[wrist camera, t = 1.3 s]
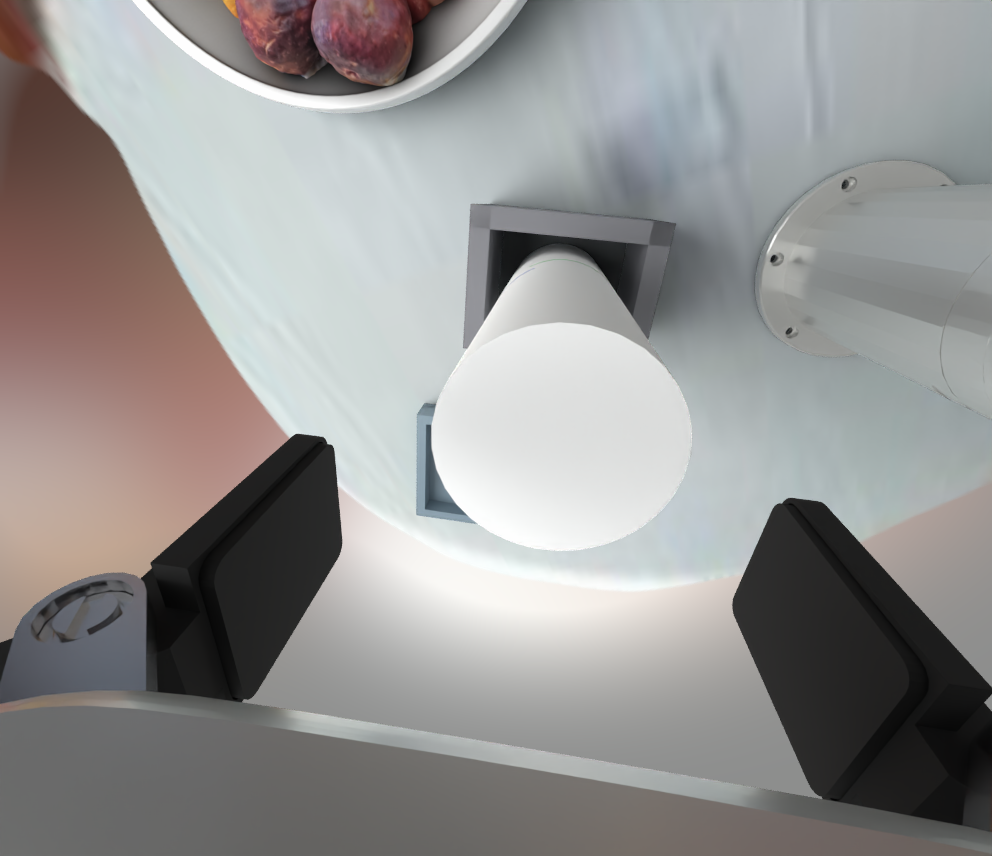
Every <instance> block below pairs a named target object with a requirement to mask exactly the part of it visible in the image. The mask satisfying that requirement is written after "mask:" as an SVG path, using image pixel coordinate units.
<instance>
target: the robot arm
mask: <svg viewBox="0 0 992 856" xmlns="http://www.w3.org/2000/svg"><path fill="white" fill-rule="evenodd" d="M843 181H845V186H844V188H841V187H842V183H843ZM772 255H775V259H774V260H773V261H772V262H770V258H771V257H772ZM755 297H756V301H757V305H758V310H759V312H760V314H761V316H762V318H763V320H764V322H765V324H766V326H767V327H768V328H769V329H770V330H771V332H772V333H773V334H774V335H775V336H776V337H778V338H779V339H780V340H782V341H783V342H784V343H786V344H787V345H789V346H791V347H793V348H795V349H796V350H798V351H801V352H804V353H807V354H811V355H814V356H822V357H846V356H853V355H857V354H859V355H861V356H863V357H865V358H867V359H869V360H871V361H873V362H875V363H877V364H879V365H881V366H883V367H885V368H887V369H889V370H891V371H893V372H895V373H897V374H899V375H901V376H903V377H905V378H907V379H909V380H911V381H913V382H915V383H917V384H919V385H921V386H923V387H925V388H927V389H929V390H931V391H933V392H935V393H937V394H939V395H941V396H943V397H945V398H947V399H949V400H952V401H954V402H956V403H958V404H960V405H962V406H964V407H966V408H968V409H970V410H972V411H974V412H976V413H978V414H980V415H982V416H984V417H986V418H988V419H991V420H992V184H974V185H956V183H955V182H953V181H952V180H951V179H950V178H949V177H948V176H947V175H945V174H944V173H943V172H941V171H939V170H937V169H935V168H933V167H931V166H929V165H927V164H923V163H918V162H913V161H908V160H891V161H879V162H872V163H866V164H863V165H859V166H856V167H853V168H849V169H846V170H844V171H842V172H840V173H837V174H835V175H833V176H831V177H829V178H827V179H825V180H824V181H822V182H821V183H819V184H818V185H816V186H815V187H813V188H812V189H811V190H809V191H808V192H806V193H805V194H804V195H803V196H802V197H801V198H800V199H799V200H797V201H796V202H795V203H794V204H793V205H792V206H791V207H790V208H789V209H788V210H787V212H786V213H785V214H784V215H783V217H782V218H781V219H780V220H779V222H778V223H777V224H776V225H775V227H774V229H773V230H772V232H771V234H770V236H769V237H768V239H767V241H766V243H765V245H764V248H763V250H762V253H761V256H760V258H759V261H758V266H757V271H756V277H755ZM788 328H790V330H789V331H788V332H787V333H786V331H787V329H788ZM341 548H342V533H341V520H340V509H339V498H338V487H337V475H336V464H335V453H334V448H333V446H332V445H329V444H327V442H326V440H325V438H323V437H319V436H311V435H304V434H295V435H294V436H292V437H291V438H290V439H289V440H288V441H287V442H286V443H284V445H282V446H281V447H280V448H279V449H278V450H277V451H276V452H274V453H273V454H272V455H271V456H270V457H269V458H268V459H266V460H265V461H264V462H263V463H262V464H261V465H260V466H259V467H258V468H256V469H255V470H254V471H253V472H252V473H251V474H250V475H249V476H247V477H246V478H245V479H244V480H243V481H242V482H241V483H240V484H238V486H236V487H235V488H234V489H233V490H232V491H231V492H229V493H228V494H227V495H226V496H225V497H224V498H223V499H222V500H220V501H219V502H218V503H217V504H216V505H215V506H214V507H213V508H212V509H210V510H209V511H208V512H207V513H206V514H205V515H204V516H203V517H201V518H200V519H199V520H198V521H197V522H196V523H195V524H194V525H192V526H191V527H190V528H189V529H188V530H187V531H186V532H185V533H184V534H183V535H181V536H180V537H179V538H178V539H177V540H176V541H175V542H173V543H172V544H171V545H170V546H169V547H168V548H167V549H165V550H164V551H163V552H162V553H161V554H160V555H159V556H158V557H157V558H155V559H154V560H153V561H152V562H151V566H152V569H151V570H150V571H148V572H147V573H146V574H145V575H144V576H143V577H142V578H141V579H140V578H138V577H137V576H135V575H131V574H127V573H105V574H100V575H95V576H90V577H87V578H84V579H81V580H78V581H76V582H73V583H70V584H68V585H66V586H64V587H62V588H60V589H58V590H56V591H54V592H53V593H51V594H49V595H48V596H46V597H45V598H44V599H42V600H41V601H39V602H38V603H37V604H35V605H34V606H33V607H32V608H31V609H30V610H29V611H28V612H27V613H26V614H25V615H24V616H23V617H22V619H21V621H20V623H19V625H18V626H17V628H16V630H15V633H14V637H13V638H12V639H9V640H7V641H4V642H1V643H0V856H992V711H991V710H990V709H989V708H988V707H987V706H986V704H985V703H984V702H985V701H986V700H987V699H988V698H989V697H990V695H991V694H992V687H991V686H990V685H989V684H988V683H987V682H986V681H985V680H984V679H983V677H982V676H981V675H980V674H979V673H978V672H977V671H976V670H975V669H974V667H973V666H972V665H971V664H970V663H969V662H968V661H967V660H966V659H965V658H964V657H963V655H962V654H961V653H960V652H959V651H958V650H957V649H956V648H955V647H954V646H953V645H952V643H951V642H950V641H949V640H948V639H947V638H946V637H945V636H944V635H943V634H942V632H941V631H940V630H939V629H938V628H937V627H936V626H935V625H934V624H933V623H932V621H931V620H929V618H928V617H927V616H926V615H925V614H924V613H923V612H922V610H921V609H920V608H919V607H918V606H917V605H916V604H915V603H914V602H913V601H912V600H911V598H910V597H909V596H908V595H907V594H906V593H905V592H904V591H903V590H902V588H901V587H900V586H899V585H898V584H897V583H896V582H895V581H894V580H893V579H892V578H891V576H890V575H889V574H888V573H887V572H886V571H885V570H884V569H883V568H882V567H881V565H880V564H879V563H878V562H877V561H876V560H875V559H874V558H873V557H872V556H871V554H869V552H868V551H867V550H866V549H865V548H864V547H863V546H862V545H861V544H860V542H859V541H858V540H857V539H856V538H855V537H854V536H853V535H852V534H851V533H850V531H849V530H848V529H847V528H846V527H845V526H844V525H843V524H842V523H841V522H840V520H839V519H838V518H837V517H836V516H835V515H834V514H833V513H832V512H831V511H830V509H829V508H828V507H827V506H826V505H825V504H823V503H822V502H818V501H811V500H803V499H796V498H788V499H786V500H785V501H784V502H783V503H782V504H777V505H776V506H774V508H773V510H772V512H771V514H770V516H769V519H768V521H767V523H766V525H765V528H764V530H763V532H762V534H761V537H760V539H759V541H758V543H757V546H756V548H755V550H754V552H753V555H752V557H751V559H750V561H749V564H748V566H747V568H746V570H745V573H744V575H743V577H742V579H741V582H740V584H739V587H738V589H737V591H736V593H735V596H734V598H733V605H732V606H733V613H734V616H735V619H736V621H737V623H738V626H739V628H740V630H741V632H742V635H743V637H744V639H745V641H746V644H747V645H748V648H749V650H750V652H751V655H752V657H753V659H754V662H755V664H756V666H757V668H758V671H759V673H760V675H761V677H762V680H763V682H764V684H765V686H766V689H767V691H768V693H769V695H770V698H771V700H772V702H773V704H774V707H775V709H776V711H777V713H778V716H779V718H780V720H781V722H782V725H783V727H784V729H785V732H786V734H787V736H788V738H789V741H790V743H791V745H792V747H793V750H794V752H795V754H796V756H797V759H798V761H799V763H800V765H801V768H802V770H803V772H804V774H805V777H806V779H807V781H808V783H809V785H810V787H811V789H812V790H813V791H814V792H815V793H816V794H817V795H819V796H822V798H823V799H818V798H812V797H807V796H801V795H795V794H789V793H783V792H778V791H772V790H766V789H761V788H755V787H749V786H744V785H738V784H732V783H726V782H721V781H715V780H709V779H703V778H698V777H692V776H686V775H681V774H675V773H669V772H663V771H658V770H652V769H646V768H640V767H633V766H628V765H622V764H616V763H610V762H605V761H599V760H593V759H587V758H580V757H575V756H569V755H563V754H557V753H551V752H545V751H539V750H534V749H528V748H522V747H515V746H510V745H504V744H498V743H492V742H486V741H480V740H474V739H468V738H462V737H456V736H450V735H444V734H438V733H431V732H425V731H419V730H413V729H407V728H401V727H395V726H389V725H382V724H376V723H370V722H364V721H358V720H351V719H346V718H339V717H333V716H327V715H321V714H315V713H309V712H303V711H297V710H290V709H283V708H276V707H269V706H262V705H255V704H248V703H242V701H243V699H247V700H248V699H250V698H252V697H253V696H254V695H255V693H256V692H257V691H258V689H259V687H260V686H261V684H262V682H263V681H264V679H265V678H266V676H267V674H268V673H269V671H270V669H271V668H272V666H273V664H274V663H275V661H276V659H277V658H278V656H279V654H280V653H281V651H282V650H283V648H284V646H285V645H286V643H287V641H288V639H289V638H290V636H291V635H292V633H293V631H294V630H295V628H296V626H297V625H298V623H299V621H300V620H301V618H302V617H303V615H304V613H305V611H306V610H307V608H308V607H309V605H310V603H311V602H312V600H313V598H314V597H315V595H316V593H317V592H318V590H319V589H320V587H321V585H322V583H323V582H324V580H325V579H326V577H327V575H328V574H329V572H330V570H331V569H332V567H333V565H334V563H335V562H336V560H337V559H338V557H339V555H340V552H341Z"/></svg>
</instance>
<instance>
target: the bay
mask: <svg viewBox="0 0 992 856" xmlns="http://www.w3.org/2000/svg"><path fill="white" fill-rule="evenodd" d="M675 226H676V224H675V223H669V222H663V221H657V220H651V219H641V218H630V217H620V216H609V215H599V214H588V213H578V212H567V211H557V210H546V209H536V208H525V207H515V206H504V205H494V204H471V207H470V226H469V245H468V264H467V283H466V302H465V321H464V340H463V348H467V349H468V347H469V345H470V344H471V342H472V341H473V339H474V337H475V336H476V334H477V333H478V331H479V329H480V328H481V326H482V325H483V323H484V321H485V320H486V318H487V317H488V315H489V313H490V312H491V310H492V308H493V307H494V305H495V303H496V302H497V300H498V294H499V282H500V270H501V258H502V247H503V235H504V231H513V232H523V233H534V234H544V235H554V236H564V237H574V238H584V239H594V240H604V241H614V242H624V243H627V246H626V251H625V256H624V261H623V266H622V271H621V276H620V281H619V286H618V291H617V295H618V296H619V298H620V299H621V301H622V302H623V304H624V305H625V306H626V308H627V309H628V311H629V312H630V314H631V315H632V317H633V318H634V320H635V321H636V323H637V324H638V326H639V327H640V329H641V330H642V332H643V333H644V335H645V336H646V338H647V339H648V338H649V334H650V329H651V325H652V321H653V317H654V313H655V309H656V305H657V300H658V296H659V292H660V288H661V284H662V280H663V276H664V271H665V267H666V263H667V259H668V255H669V251H670V246H671V242H672V238H673V234H674V230H675Z"/></svg>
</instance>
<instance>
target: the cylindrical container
mask: <svg viewBox="0 0 992 856" xmlns="http://www.w3.org/2000/svg"><path fill="white" fill-rule="evenodd" d="M691 444H692V426H691V421H690V416H689V410H688V406H687V404H686V401H685V399H684V397H683V395H682V392H681V390H680V388H679V386H678V384H677V383H676V381H675V380H674V378H673V377H672V375H671V374H670V372H669V371H668V369H667V368H666V366H665V365H664V363H663V362H662V360H661V359H660V357H659V356H658V354H657V353H656V351H655V350H654V348H653V347H652V345H651V344H650V342H649V341H648V339H647V338H646V336H645V335H644V333H643V332H642V330H641V329H640V327H639V326H638V324H637V323H636V321H635V320H634V318H633V317H632V315H631V314H630V312H629V311H628V309H627V308H626V306H625V305H624V304H623V302H622V301H621V299H620V298H619V296H618V295H617V293H616V292H615V290H614V289H613V287H612V286H611V284H610V283H609V281H608V280H607V278H606V277H605V275H604V274H603V272H602V271H601V269H600V268H599V266H598V265H597V263H596V262H595V261H594V259H593V258H592V257H591V256H590V255H589V254H588V253H586V252H585V251H583V250H582V249H580V248H578V247H575V246H572V245H569V244H559V243H557V244H550V245H546V246H543V247H541V248H538V249H537V250H535V251H533V252H532V253H530V254H529V255H528V256H527V257H526V258H525V259H524V260H523V261H522V263H521V264H520V265H519V266H518V268H517V270H516V271H515V273H514V275H513V276H512V278H511V279H510V281H509V283H508V284H507V286H506V287H505V289H504V291H503V292H502V294H501V295H500V297H499V299H498V300H497V302H496V303H495V305H494V307H493V308H492V310H491V312H490V313H489V315H488V317H487V318H486V320H485V321H484V323H483V325H482V326H481V328H480V329H479V331H478V333H477V334H476V336H475V337H474V339H473V341H472V342H471V344H470V345H469V347H468V349H467V350H466V352H465V353H464V355H463V357H462V358H461V360H460V361H459V363H458V364H457V366H456V368H455V369H454V371H453V372H452V374H451V376H450V377H449V379H448V380H447V382H446V384H445V387H444V389H443V391H442V393H441V395H440V397H439V399H438V401H437V403H436V408H435V412H434V416H433V421H432V425H431V446H432V452H433V457H434V461H435V465H436V470H437V472H438V474H439V476H440V478H441V480H442V483H443V485H444V487H445V489H446V490H447V492H448V493H449V494H450V496H451V497H452V499H453V500H454V502H455V503H456V504H457V505H458V506H459V507H460V508H461V509H462V510H463V511H464V512H465V513H466V514H467V515H468V516H469V517H470V518H471V519H472V520H473V521H475V522H476V523H478V524H479V525H480V526H482V527H483V528H485V529H486V530H487V531H489V532H491V533H493V534H495V535H497V536H499V537H501V538H503V539H506V540H508V541H510V542H514V543H517V544H520V545H524V546H527V547H530V548H537V549H545V550H552V551H565V550H581V549H587V548H592V547H598V546H602V545H605V544H607V543H610V542H613V541H616V540H619V539H621V538H623V537H625V536H627V535H629V534H631V533H633V532H634V531H636V530H638V529H640V528H641V527H642V526H644V525H645V524H646V523H648V522H649V521H650V520H651V519H653V518H654V517H655V516H657V515H658V513H659V512H660V511H661V510H662V509H663V508H664V507H665V506H666V504H667V503H668V502H669V501H670V500H671V499H672V498H673V496H674V494H675V492H676V491H677V489H678V487H679V485H680V484H681V482H682V480H683V478H684V476H685V473H686V469H687V466H688V462H689V459H690V456H691Z"/></svg>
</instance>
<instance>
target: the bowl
mask: <svg viewBox="0 0 992 856" xmlns="http://www.w3.org/2000/svg"><path fill="white" fill-rule="evenodd" d="M132 1H133V2H134V3H135V4H136V5H137V6H138V7H139V9H140V10H141V11H142V12H143V13H144V14H145V15H146V16H147V17H148V18H149V19H150V20H151V21H152V22H153V23H154V24H155V25H156V26H157V27H158V28H159V29H160V30H161V31H162V32H163V33H164V34H165V35H166V36H167V37H168V38H170V39H171V40H172V41H173V42H174V43H175V44H176V45H177V46H179V47H180V48H181V49H182V50H184V51H185V52H186V53H187V54H188V55H190V56H191V57H192V58H194V59H195V60H197V61H198V62H199V63H201V64H202V65H203V66H205V67H206V68H208V69H209V70H211V71H213V72H214V73H216V74H217V75H219V76H220V77H222V78H224V79H226V80H227V81H229V82H231V83H233V84H235V85H237V86H239V87H241V88H243V89H245V90H247V91H249V92H251V93H254V94H256V95H259V96H261V97H264V98H267V99H269V100H272V101H275V102H278V103H281V104H285V105H288V106H291V107H296V108H300V109H304V110H310V111H316V112H324V113H362V112H371V111H376V110H382V109H386V108H390V107H394V106H397V105H400V104H403V103H406V102H409V101H412V100H414V99H416V98H418V97H421V96H423V95H425V94H427V93H429V92H431V91H433V90H435V89H436V88H438V87H440V86H442V85H443V84H445V83H446V82H448V81H450V80H451V79H453V78H454V77H456V76H457V75H458V74H460V73H461V72H462V71H464V70H465V69H466V68H467V67H469V66H470V65H471V64H472V63H473V62H474V61H476V60H477V59H478V58H479V57H480V56H481V55H482V54H483V53H484V52H485V51H486V50H487V49H488V48H489V47H490V46H491V45H492V44H493V43H494V42H495V41H496V40H497V39H498V38H499V37H500V35H501V34H502V33H503V32H504V31H505V30H506V29H507V27H508V26H509V25H510V24H511V22H512V21H513V20H514V18H515V17H516V16H517V14H518V13H519V12H520V10H521V9H522V7H523V6H524V5H525V3H526V2H527V0H132Z"/></svg>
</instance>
